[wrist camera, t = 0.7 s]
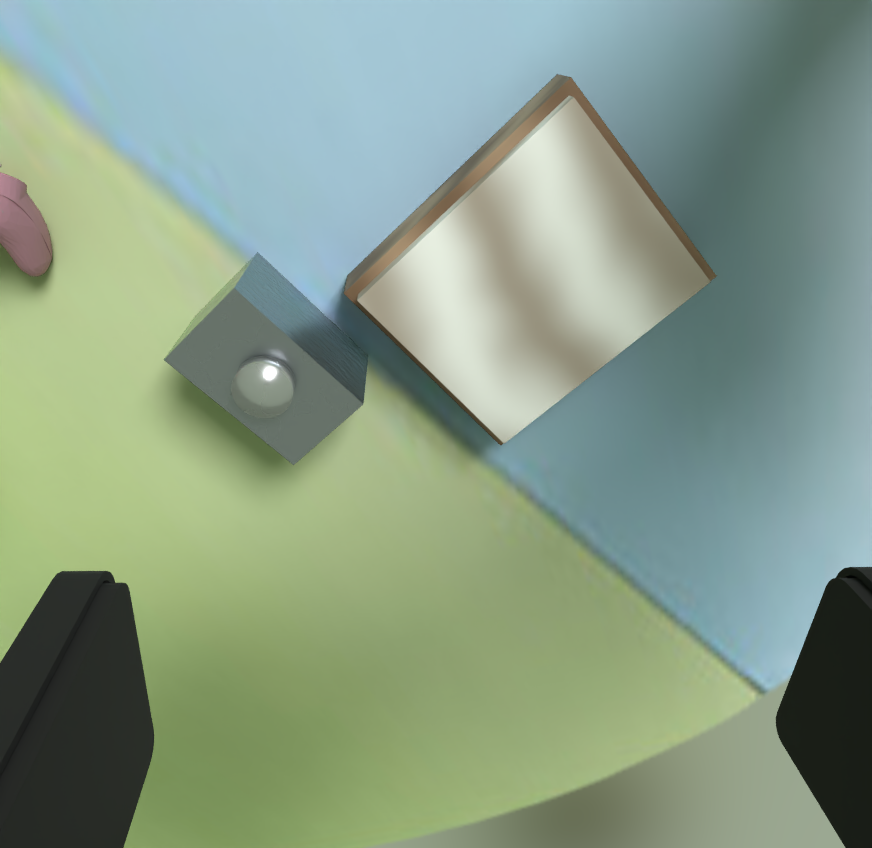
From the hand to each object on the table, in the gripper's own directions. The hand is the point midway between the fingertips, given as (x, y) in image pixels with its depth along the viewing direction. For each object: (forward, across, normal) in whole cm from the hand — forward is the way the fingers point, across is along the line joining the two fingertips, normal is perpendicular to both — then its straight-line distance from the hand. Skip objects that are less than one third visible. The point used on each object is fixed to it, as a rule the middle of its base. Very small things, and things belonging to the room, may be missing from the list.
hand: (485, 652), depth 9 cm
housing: (+30, +6, +6) cm, 31 cm away
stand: (+29, -6, +2) cm, 30 cm away
